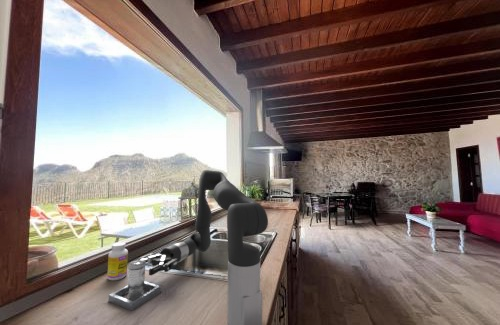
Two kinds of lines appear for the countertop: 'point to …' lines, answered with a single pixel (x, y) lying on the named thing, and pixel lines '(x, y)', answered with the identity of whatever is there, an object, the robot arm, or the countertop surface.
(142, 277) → the lidded metal canister
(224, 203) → the robot arm
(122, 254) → the supplement bottle
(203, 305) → the countertop surface
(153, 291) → the collar
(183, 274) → the countertop surface
